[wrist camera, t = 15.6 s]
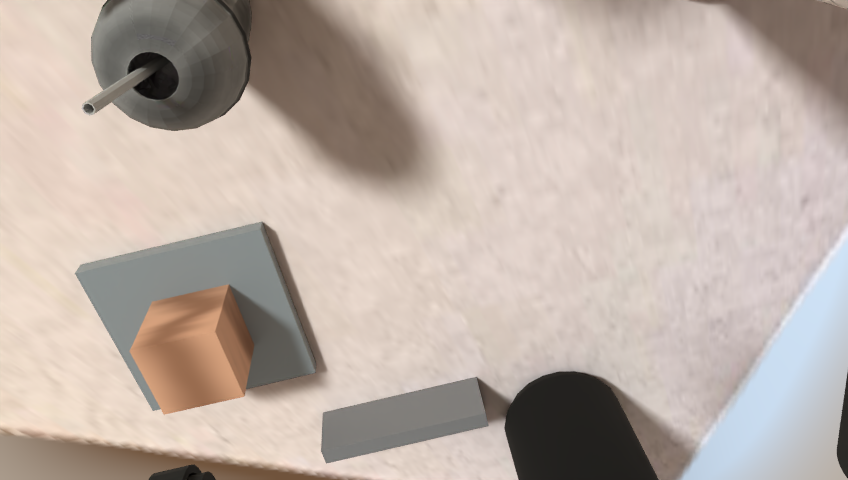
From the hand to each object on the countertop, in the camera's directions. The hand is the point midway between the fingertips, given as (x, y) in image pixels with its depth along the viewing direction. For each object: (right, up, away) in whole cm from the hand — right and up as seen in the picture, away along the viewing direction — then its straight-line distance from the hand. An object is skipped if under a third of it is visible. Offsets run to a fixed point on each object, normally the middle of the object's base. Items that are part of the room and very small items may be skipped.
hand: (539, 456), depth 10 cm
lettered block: (-19, -3, +42) cm, 46 cm away
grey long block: (-4, -12, +50) cm, 52 cm away
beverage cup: (-15, +18, +33) cm, 40 cm away
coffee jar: (+11, -13, +53) cm, 55 cm away
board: (-19, -3, +44) cm, 48 cm away
